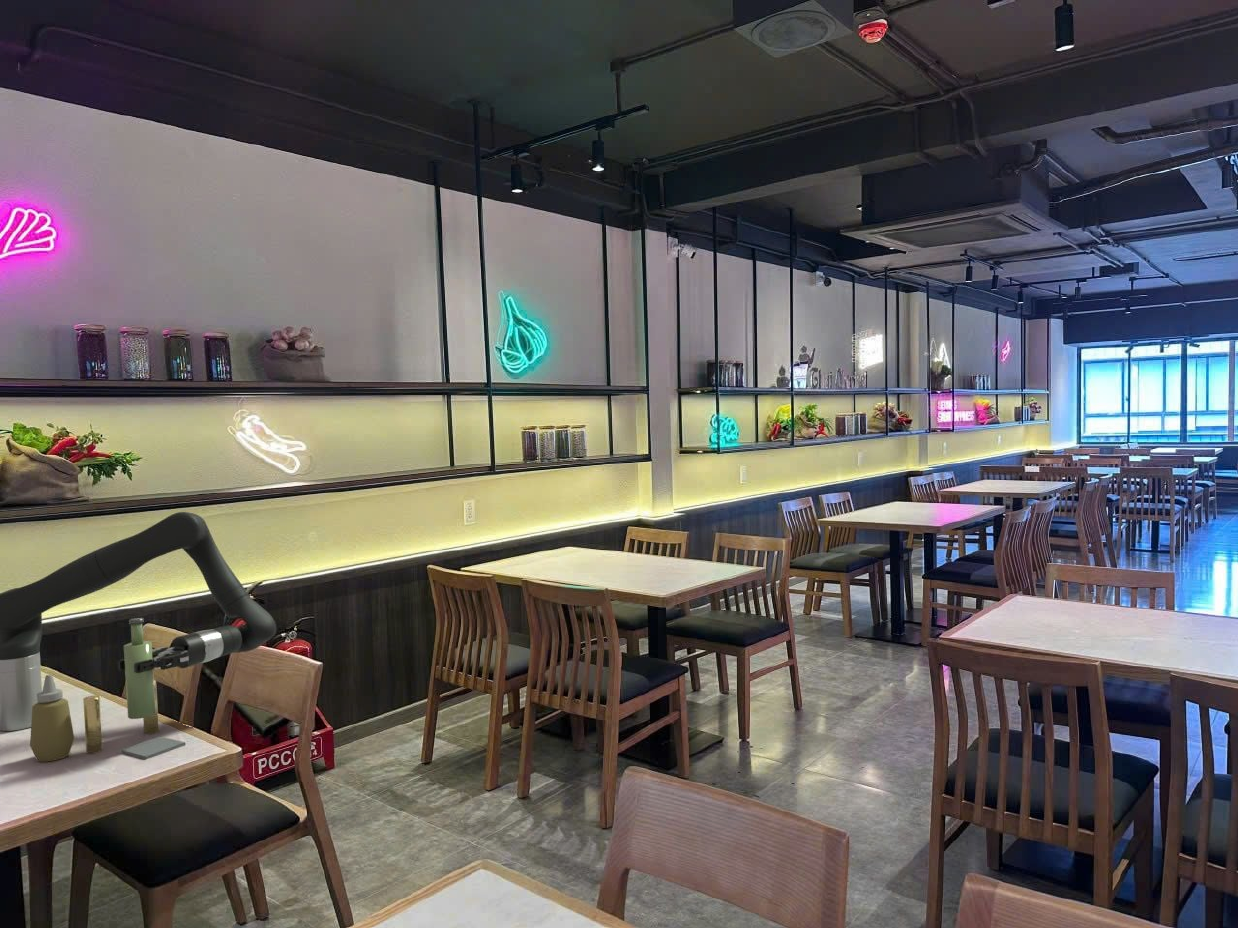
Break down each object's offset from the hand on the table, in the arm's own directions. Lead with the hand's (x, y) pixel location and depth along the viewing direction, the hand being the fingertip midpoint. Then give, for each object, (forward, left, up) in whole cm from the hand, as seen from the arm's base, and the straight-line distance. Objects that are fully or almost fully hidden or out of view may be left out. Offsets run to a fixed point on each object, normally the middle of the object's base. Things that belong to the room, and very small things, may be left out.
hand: (127, 667), depth 185 cm
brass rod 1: (-7, -4, -18) cm, 20 cm away
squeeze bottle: (-12, -10, -19) cm, 24 cm away
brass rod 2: (-7, +9, -18) cm, 21 cm away
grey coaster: (+4, +2, -18) cm, 19 cm away
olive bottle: (0, +3, -11) cm, 12 cm away
